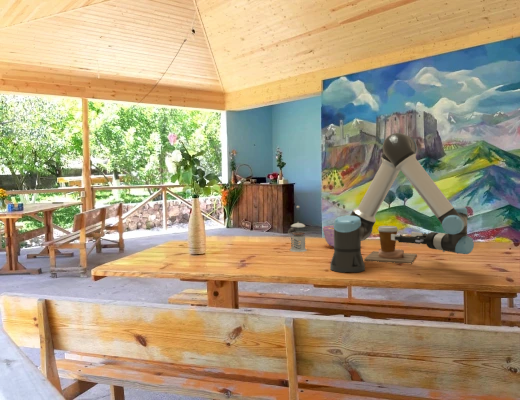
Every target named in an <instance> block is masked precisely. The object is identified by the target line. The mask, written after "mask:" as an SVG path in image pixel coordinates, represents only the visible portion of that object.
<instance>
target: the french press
mask: <svg viewBox="0 0 520 400" xmlns="http://www.w3.org/2000/svg"><path fill="white" fill-rule="evenodd" d="M296 209H300V205H296ZM305 227H306V225H305V224H304V223H301V222H296V223H293V224H291V225H290V228H289V229H288V231H287V233H290V232H291V231H294V230H295V228H297V229H299V228H305ZM291 234H292V235H291ZM291 234H287V237H288V239H289V240H290V243H291V244H290V245H291V246H290V247H291V248H290V249H289V251H290V252H293V253H304V252H307V251H308V249H307V248H306V235H305V232H303V231H301V232H300V231H295V232H291Z"/></svg>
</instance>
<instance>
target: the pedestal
mask: <svg viewBox="0 0 520 400" xmlns="http://www.w3.org/2000/svg"><path fill="white" fill-rule="evenodd" d="M417 256H418V254H417V253H409V252H404V249H400V248H395V251H394V252H383V251H381V248H379V249H378V251H377V250H376V251H375V250H374V251H371V252H370V253H369V254H368V255H367V256H366V257H365V258H363V261H364V262H373V261H377V262H376V263H387V262H392V264H402V263H411V264H410V265H412V264H413V263H414V261H415V260H416V258H417ZM415 257H416V258H415ZM414 259H415V260H414ZM378 261H379V262H378ZM394 262H395V263H394ZM412 262H413V263H412Z"/></svg>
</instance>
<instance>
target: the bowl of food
mask: <svg viewBox="0 0 520 400" xmlns="http://www.w3.org/2000/svg"><path fill="white" fill-rule="evenodd" d="M322 231H323V235H324V239H325V241H326V243H327V244H328V245H329V246H331V247H332V248H333V249H334V224H332V225H325V226H322Z"/></svg>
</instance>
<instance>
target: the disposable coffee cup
mask: <svg viewBox="0 0 520 400" xmlns="http://www.w3.org/2000/svg"><path fill="white" fill-rule="evenodd" d="M377 230H378V234H379V242H380V249H381V251H383V252H394V251H395V249H396V244H397V241H395V240H391V234H395V235H398V231H399V229H398V226H395V225H380V226H378V228H377Z"/></svg>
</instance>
